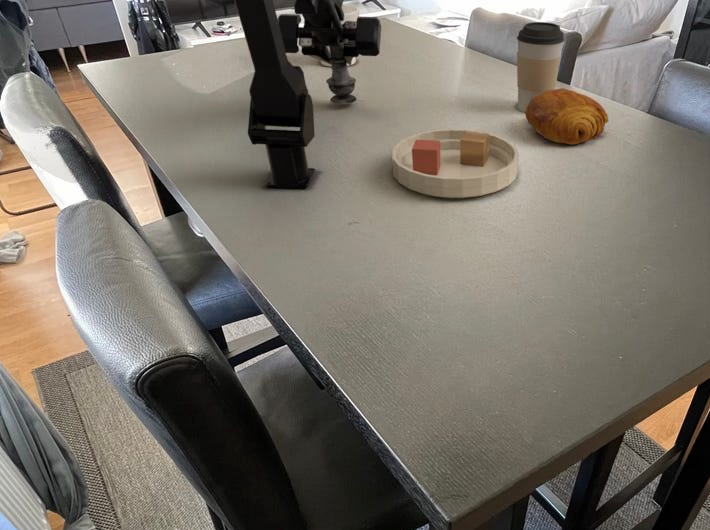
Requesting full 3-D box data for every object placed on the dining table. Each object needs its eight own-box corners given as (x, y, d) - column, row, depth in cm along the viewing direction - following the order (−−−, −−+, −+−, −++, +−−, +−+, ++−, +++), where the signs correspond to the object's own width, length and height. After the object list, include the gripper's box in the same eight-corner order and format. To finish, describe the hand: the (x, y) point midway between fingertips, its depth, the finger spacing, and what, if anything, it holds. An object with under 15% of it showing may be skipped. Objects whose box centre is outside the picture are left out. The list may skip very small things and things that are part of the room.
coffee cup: (505, 110, 118) (510, 25, 108) (522, 98, 124) (529, 16, 114) (546, 118, 115) (555, 31, 105) (562, 105, 121) (573, 21, 111)
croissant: (542, 161, 105) (548, 117, 99) (515, 119, 114) (519, 76, 108) (615, 151, 108) (626, 108, 101) (583, 111, 117) (591, 69, 111)
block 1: (437, 175, 94) (437, 150, 91) (413, 173, 94) (411, 148, 91) (440, 165, 97) (440, 140, 94) (416, 163, 97) (415, 139, 94)
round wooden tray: (519, 202, 88) (521, 180, 86) (385, 199, 89) (383, 177, 86) (514, 150, 103) (516, 130, 101) (399, 148, 103) (398, 127, 101)
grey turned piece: (352, 105, 116) (344, 36, 108) (324, 103, 117) (314, 34, 109) (362, 96, 120) (355, 29, 112) (334, 94, 121) (326, 27, 113)
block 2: (483, 166, 96) (484, 142, 94) (460, 164, 97) (460, 139, 94) (488, 157, 99) (489, 133, 96) (466, 155, 100) (466, 131, 97)
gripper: (374, -37, 99) (390, 24, 115) (267, -40, 100) (297, 21, 116) (369, 26, 99) (386, 79, 114) (262, 23, 100) (293, 75, 115)
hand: (340, 62), depth 115 cm, fingers closed on grey turned piece, 3 cm apart
